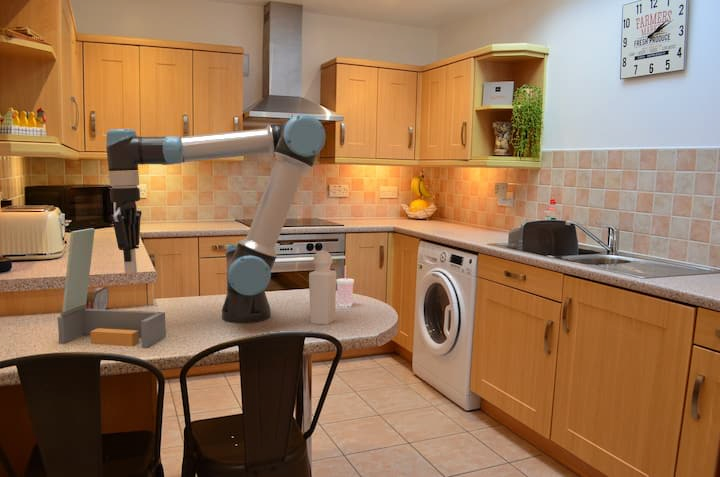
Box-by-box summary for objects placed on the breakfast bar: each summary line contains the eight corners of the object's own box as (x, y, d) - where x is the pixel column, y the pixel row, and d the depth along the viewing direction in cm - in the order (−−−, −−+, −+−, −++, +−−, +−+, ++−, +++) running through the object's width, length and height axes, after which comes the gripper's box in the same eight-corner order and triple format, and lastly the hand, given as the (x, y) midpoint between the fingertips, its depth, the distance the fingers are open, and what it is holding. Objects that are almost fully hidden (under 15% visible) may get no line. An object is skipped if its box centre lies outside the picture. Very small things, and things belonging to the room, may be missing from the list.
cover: (95, 228, 161) (91, 227, 161) (74, 232, 152) (69, 231, 152) (86, 309, 165) (81, 308, 165) (65, 317, 156) (60, 316, 156)
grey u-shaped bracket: (165, 336, 163) (165, 312, 162) (147, 347, 153) (146, 321, 152) (82, 332, 166) (80, 308, 166) (59, 343, 157) (57, 317, 156)
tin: (101, 308, 196) (100, 283, 195) (111, 308, 196) (110, 283, 195) (84, 319, 181) (82, 292, 180) (94, 319, 181) (93, 292, 180)
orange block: (139, 343, 157) (138, 330, 157) (132, 347, 154) (132, 333, 154) (98, 341, 159) (97, 328, 159) (91, 344, 156) (90, 331, 156)
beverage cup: (338, 303, 204) (338, 263, 203) (355, 304, 203) (355, 264, 201) (334, 307, 198) (334, 266, 197) (352, 308, 197) (352, 267, 195)
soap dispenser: (308, 323, 178) (308, 251, 175) (317, 318, 184) (317, 248, 181) (328, 325, 175) (328, 252, 173) (336, 320, 181) (336, 249, 179)
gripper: (123, 186, 166) (129, 268, 169) (98, 188, 153) (105, 277, 156) (148, 185, 165) (154, 268, 168) (126, 187, 153) (132, 277, 156)
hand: (130, 272), depth 162 cm, fingers closed
